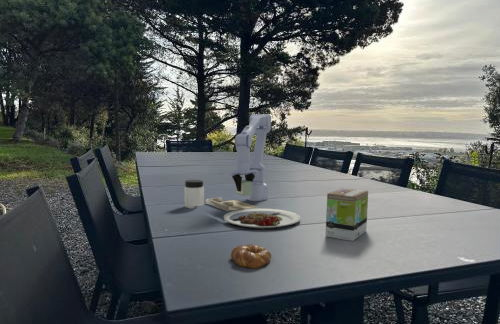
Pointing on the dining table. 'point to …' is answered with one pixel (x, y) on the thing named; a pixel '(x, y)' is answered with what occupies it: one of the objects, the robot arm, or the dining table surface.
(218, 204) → the beige compartment tray
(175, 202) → the dining table surface
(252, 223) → the plated food
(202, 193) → the jar
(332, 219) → the tea box
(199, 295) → the dining table surface
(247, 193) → the tea tin
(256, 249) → the bagel
